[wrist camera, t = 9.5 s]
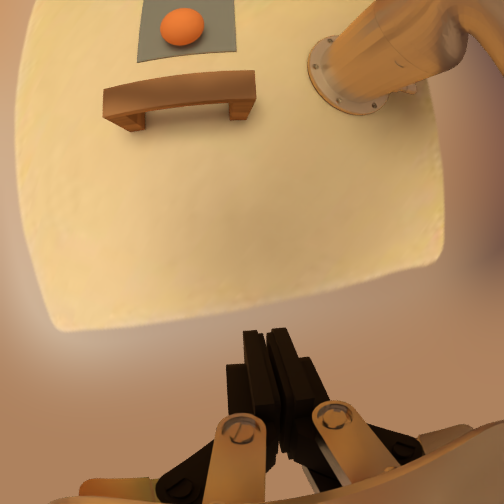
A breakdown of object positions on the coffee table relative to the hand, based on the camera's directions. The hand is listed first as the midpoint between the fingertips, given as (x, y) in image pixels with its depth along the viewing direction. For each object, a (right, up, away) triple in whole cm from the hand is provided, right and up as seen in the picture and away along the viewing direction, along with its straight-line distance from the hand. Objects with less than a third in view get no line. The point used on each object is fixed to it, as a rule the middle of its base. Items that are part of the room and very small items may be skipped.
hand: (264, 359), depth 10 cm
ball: (-9, +32, +14) cm, 36 cm away
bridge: (-9, +21, +20) cm, 30 cm away
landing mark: (-9, +36, +16) cm, 40 cm away
